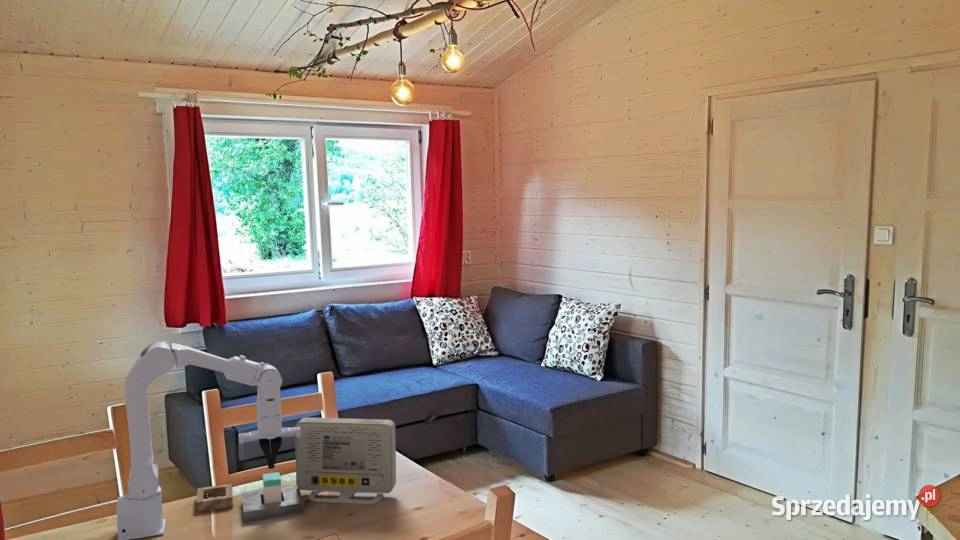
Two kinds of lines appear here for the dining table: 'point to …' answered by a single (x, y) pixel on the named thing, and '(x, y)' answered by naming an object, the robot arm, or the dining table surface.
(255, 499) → the port
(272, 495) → the plug
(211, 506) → the frame
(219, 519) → the dining table surface
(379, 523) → the dining table surface
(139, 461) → the robot arm
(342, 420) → the network device
